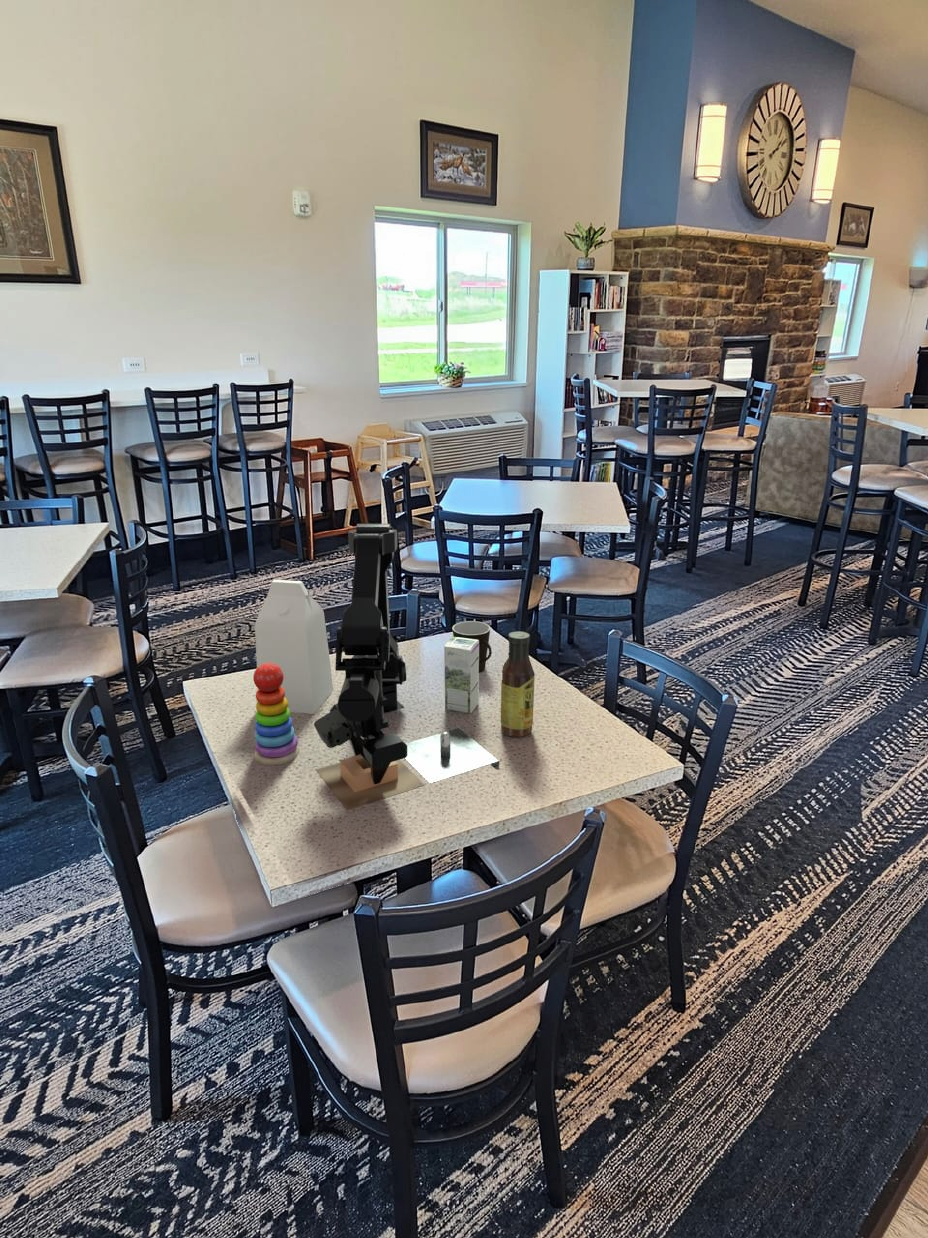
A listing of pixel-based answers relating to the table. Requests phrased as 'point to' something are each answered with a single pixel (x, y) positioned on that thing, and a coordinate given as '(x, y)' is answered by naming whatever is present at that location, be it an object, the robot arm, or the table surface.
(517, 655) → the sauce bottle
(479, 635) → the coffee mug
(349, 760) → the square tube wooden block
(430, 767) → the hub base
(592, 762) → the table surface
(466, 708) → the syrup box
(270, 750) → the stacking toy
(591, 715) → the table surface
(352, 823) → the table surface
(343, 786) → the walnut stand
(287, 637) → the milk
